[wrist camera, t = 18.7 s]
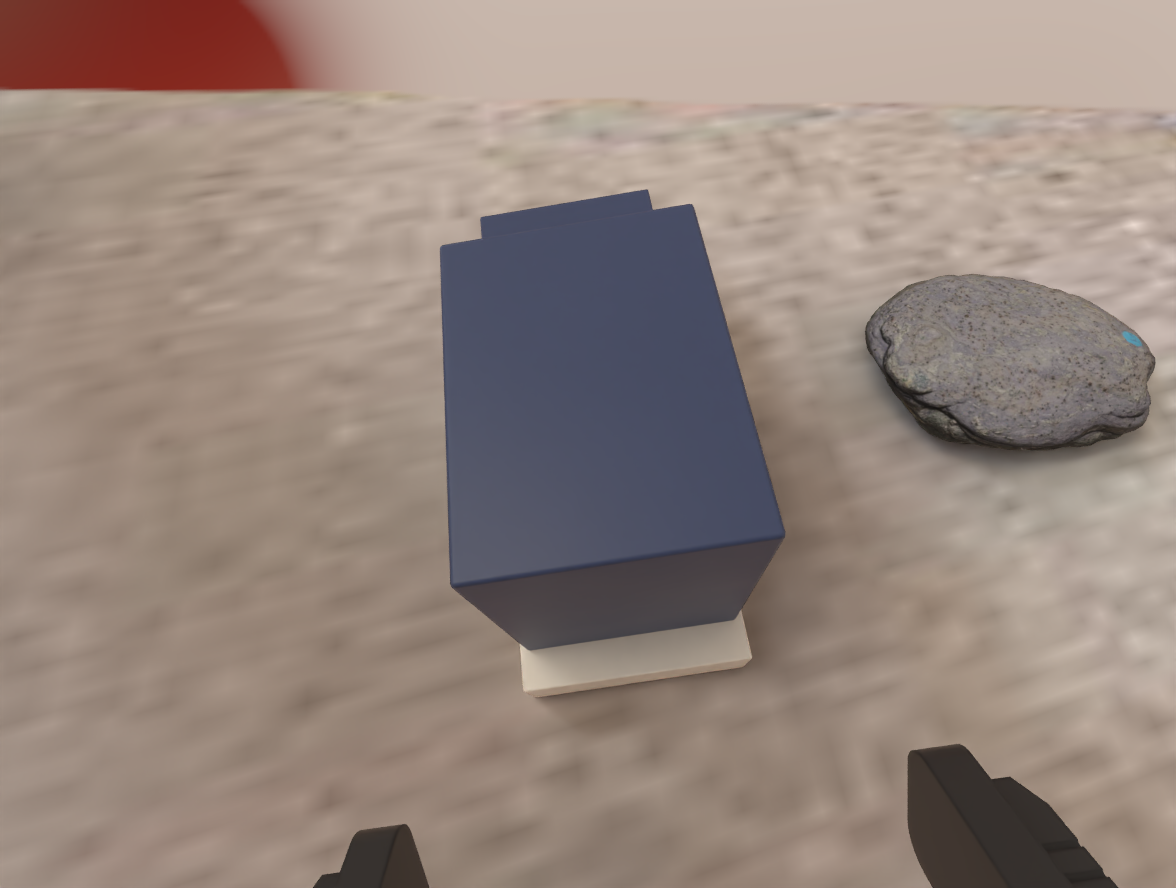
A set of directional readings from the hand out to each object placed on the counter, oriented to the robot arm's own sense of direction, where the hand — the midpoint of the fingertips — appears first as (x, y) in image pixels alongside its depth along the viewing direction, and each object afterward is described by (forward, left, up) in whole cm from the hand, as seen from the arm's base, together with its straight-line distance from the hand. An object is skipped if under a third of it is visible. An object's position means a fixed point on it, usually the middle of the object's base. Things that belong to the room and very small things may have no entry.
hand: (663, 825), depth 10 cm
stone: (-13, +10, -8) cm, 19 cm away
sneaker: (-10, -2, -7) cm, 12 cm away
